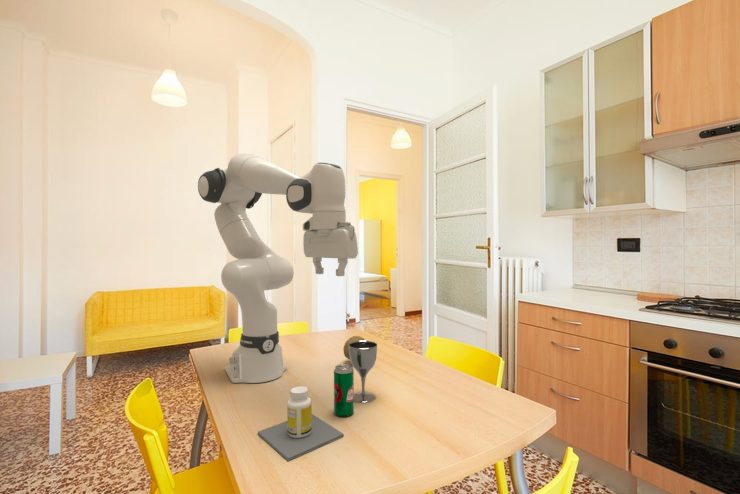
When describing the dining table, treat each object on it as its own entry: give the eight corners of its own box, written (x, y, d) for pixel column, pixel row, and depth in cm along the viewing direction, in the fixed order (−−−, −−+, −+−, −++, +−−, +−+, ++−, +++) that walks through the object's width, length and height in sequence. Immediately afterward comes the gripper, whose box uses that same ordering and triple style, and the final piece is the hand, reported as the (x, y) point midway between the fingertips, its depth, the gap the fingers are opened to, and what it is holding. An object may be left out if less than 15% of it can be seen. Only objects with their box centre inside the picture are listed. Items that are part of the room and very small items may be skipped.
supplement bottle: (312, 426, 86) (312, 384, 86) (310, 438, 80) (310, 394, 80) (289, 427, 85) (289, 385, 85) (285, 439, 80) (285, 394, 80)
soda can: (351, 418, 90) (350, 370, 90) (331, 416, 91) (331, 369, 91) (355, 409, 95) (355, 363, 95) (337, 408, 96) (337, 362, 96)
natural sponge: (362, 369, 126) (361, 340, 126) (339, 366, 130) (338, 338, 130) (371, 361, 135) (371, 334, 135) (349, 358, 138) (349, 332, 138)
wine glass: (356, 405, 98) (356, 349, 98) (344, 394, 105) (344, 342, 105) (382, 399, 101) (382, 345, 101) (369, 389, 108) (369, 339, 108)
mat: (257, 434, 83) (257, 431, 83) (310, 415, 92) (310, 412, 92) (288, 461, 73) (288, 458, 73) (343, 436, 82) (343, 433, 82)
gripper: (363, 222, 92) (363, 276, 92) (318, 225, 107) (318, 272, 107) (343, 221, 88) (343, 278, 88) (299, 224, 103) (299, 273, 103)
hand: (329, 275), depth 98 cm, fingers open, 8 cm apart
